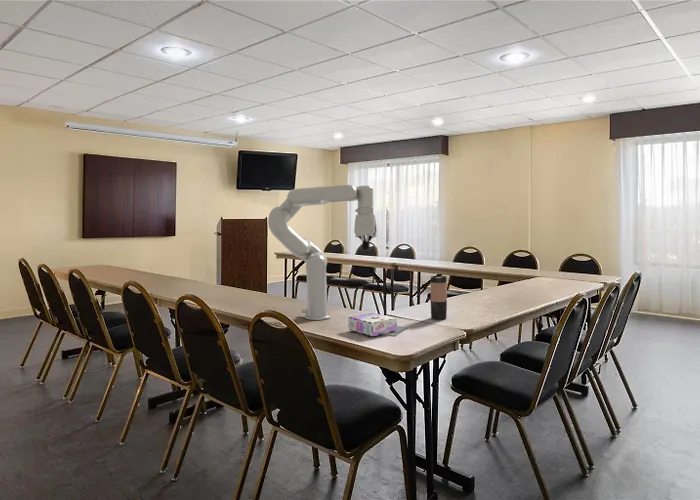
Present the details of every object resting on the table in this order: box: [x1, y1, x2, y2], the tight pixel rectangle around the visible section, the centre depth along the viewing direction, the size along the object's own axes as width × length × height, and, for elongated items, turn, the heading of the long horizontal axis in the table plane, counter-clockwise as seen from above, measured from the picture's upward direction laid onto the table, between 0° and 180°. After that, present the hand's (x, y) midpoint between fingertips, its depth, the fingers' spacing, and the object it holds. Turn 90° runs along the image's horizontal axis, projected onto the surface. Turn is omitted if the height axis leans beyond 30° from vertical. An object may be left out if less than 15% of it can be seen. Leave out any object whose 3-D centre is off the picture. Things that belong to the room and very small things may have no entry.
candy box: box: [348, 312, 398, 337], centre depth 212 cm, size 14×6×16 cm
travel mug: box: [430, 275, 448, 321], centre depth 237 cm, size 8×8×20 cm
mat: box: [357, 325, 409, 337], centre depth 216 cm, size 17×16×1 cm
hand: (366, 249), depth 241 cm, fingers closed
